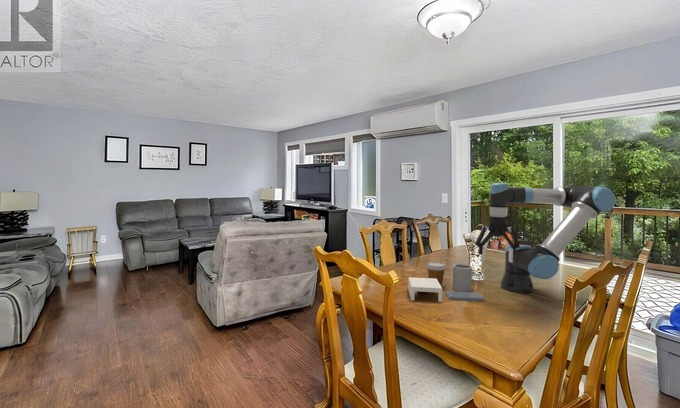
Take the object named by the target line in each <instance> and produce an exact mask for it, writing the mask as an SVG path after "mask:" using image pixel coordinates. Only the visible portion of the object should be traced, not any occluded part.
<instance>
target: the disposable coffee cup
mask: <svg viewBox="0 0 680 408" xmlns="http://www.w3.org/2000/svg"><path fill="white" fill-rule="evenodd" d="M426 267H427V273H428V274H427V275H428V278H436V279H437V280H438V282H439V284H440V285H441V287H442V286H443V282H444V275H445V270H446V268H447V267H446V265H445V263H442V262H435V261H434V262H433V261H431V262H428V263H427V265H426ZM442 288H443V287H442Z"/></svg>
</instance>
